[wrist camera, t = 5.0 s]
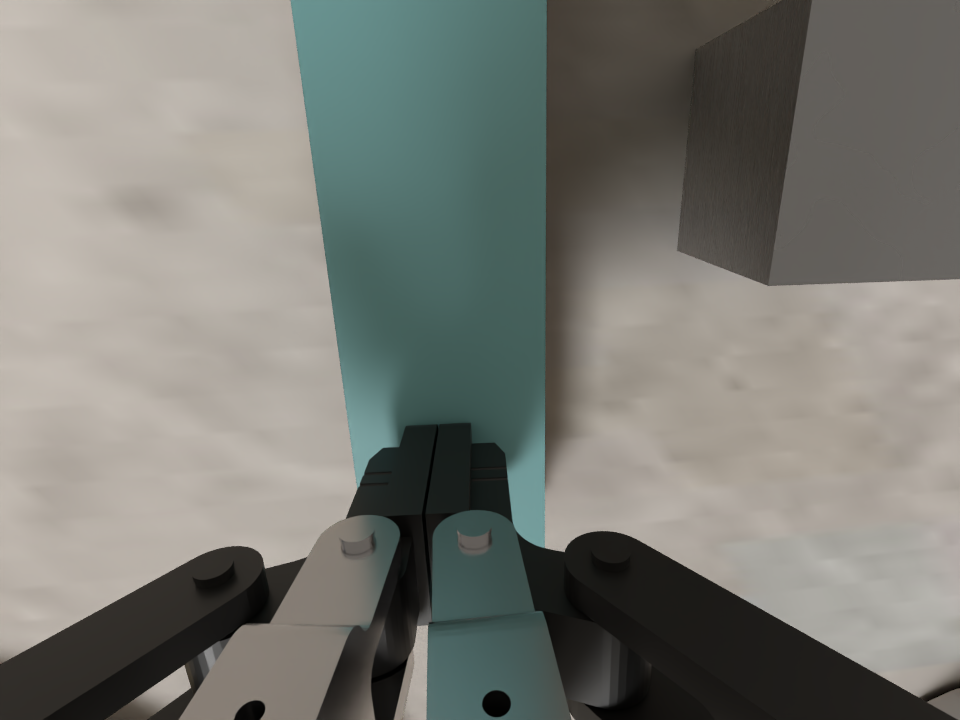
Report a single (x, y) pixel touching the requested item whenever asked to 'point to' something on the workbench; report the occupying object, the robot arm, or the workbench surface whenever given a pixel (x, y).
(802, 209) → the steel block
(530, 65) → the tongs upper jaw
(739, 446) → the workbench surface
